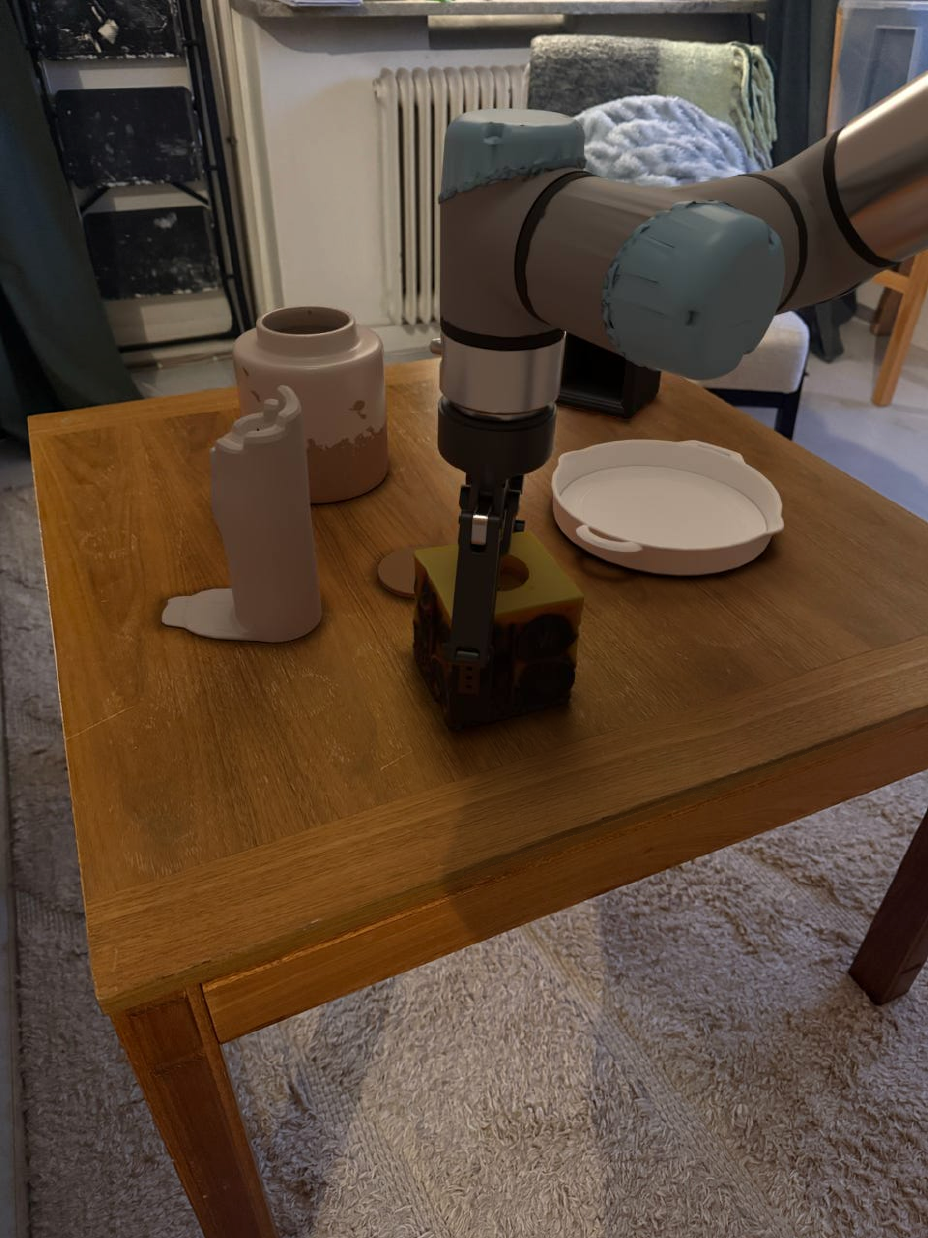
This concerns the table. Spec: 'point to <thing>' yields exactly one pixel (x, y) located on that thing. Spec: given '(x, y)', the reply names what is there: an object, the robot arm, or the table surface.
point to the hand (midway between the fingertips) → (482, 656)
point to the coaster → (399, 571)
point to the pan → (665, 506)
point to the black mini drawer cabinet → (604, 380)
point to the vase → (322, 392)
